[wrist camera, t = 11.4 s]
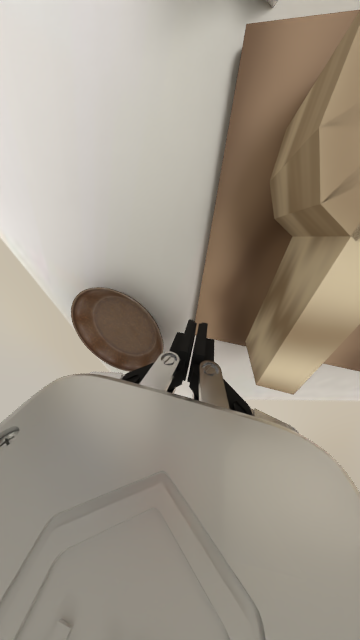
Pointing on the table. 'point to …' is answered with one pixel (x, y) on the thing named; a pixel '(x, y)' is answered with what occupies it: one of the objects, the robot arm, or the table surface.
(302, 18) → the board
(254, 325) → the link
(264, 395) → the table surface
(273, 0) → the white rounded block
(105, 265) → the table surface
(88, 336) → the saucer
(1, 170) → the table surface
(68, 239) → the table surface
